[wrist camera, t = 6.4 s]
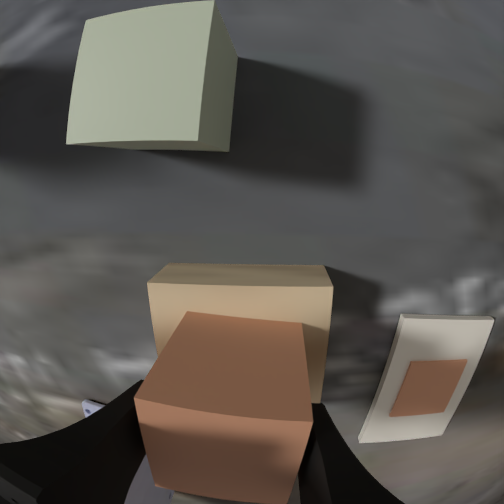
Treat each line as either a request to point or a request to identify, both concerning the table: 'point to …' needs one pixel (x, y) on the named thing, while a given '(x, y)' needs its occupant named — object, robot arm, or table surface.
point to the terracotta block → (228, 408)
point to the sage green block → (155, 80)
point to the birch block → (248, 302)
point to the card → (425, 376)
